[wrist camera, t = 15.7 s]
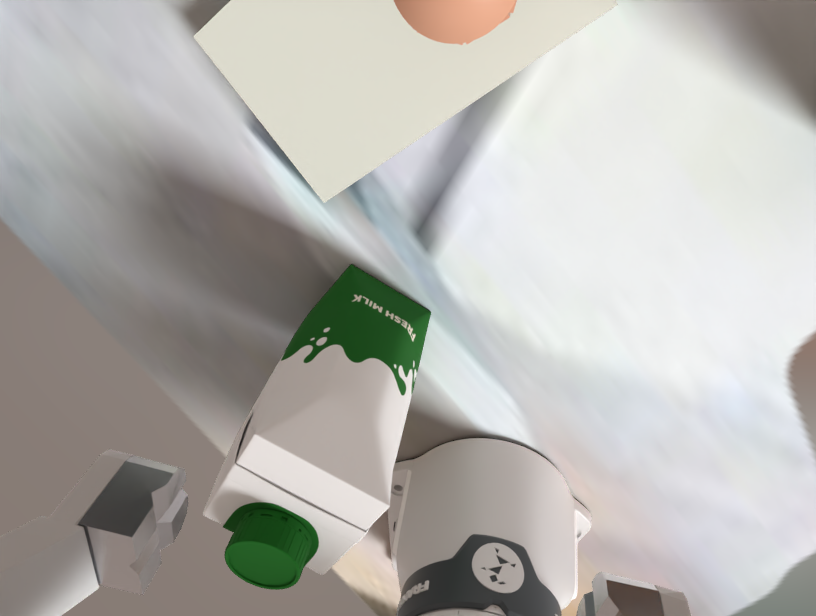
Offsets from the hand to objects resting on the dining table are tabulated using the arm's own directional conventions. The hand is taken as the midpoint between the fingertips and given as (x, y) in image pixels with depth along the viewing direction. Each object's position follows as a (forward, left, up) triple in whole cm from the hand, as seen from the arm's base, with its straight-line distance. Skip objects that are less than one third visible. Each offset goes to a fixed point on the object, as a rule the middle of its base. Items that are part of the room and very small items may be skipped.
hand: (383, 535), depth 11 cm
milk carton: (-16, +5, -29) cm, 34 cm away
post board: (+5, +6, -29) cm, 30 cm away
